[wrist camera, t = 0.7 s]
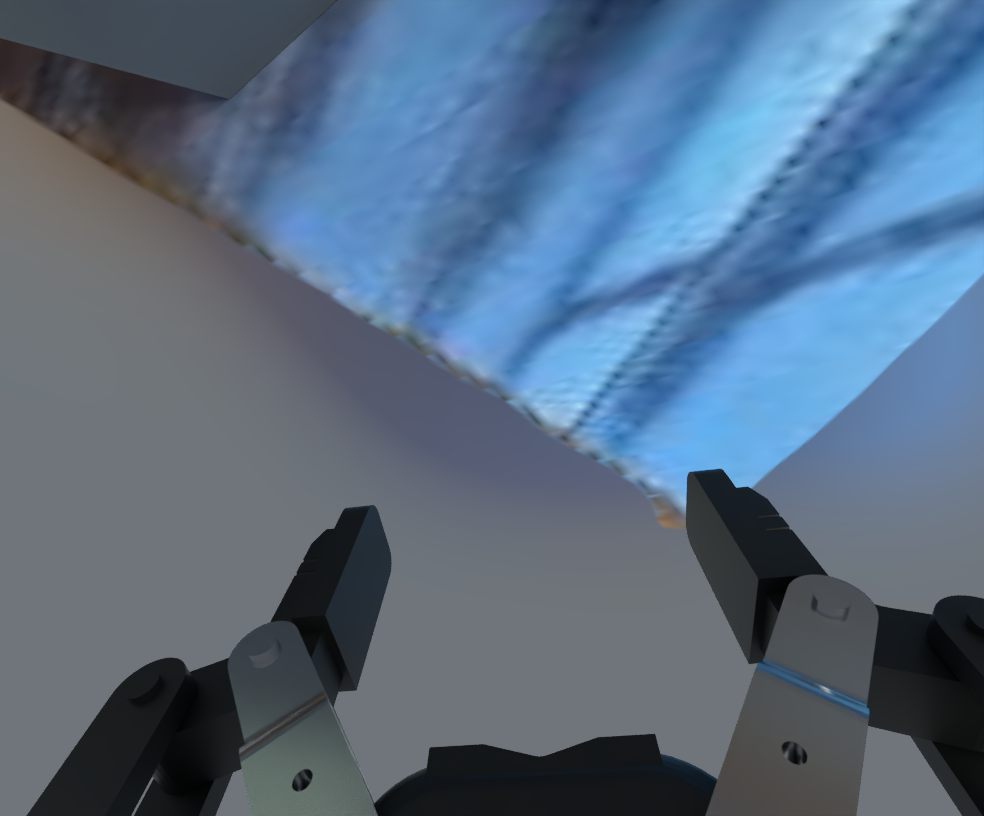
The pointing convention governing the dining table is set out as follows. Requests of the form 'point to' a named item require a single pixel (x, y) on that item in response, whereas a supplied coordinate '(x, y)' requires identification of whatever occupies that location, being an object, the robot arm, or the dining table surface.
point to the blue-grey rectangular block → (165, 35)
